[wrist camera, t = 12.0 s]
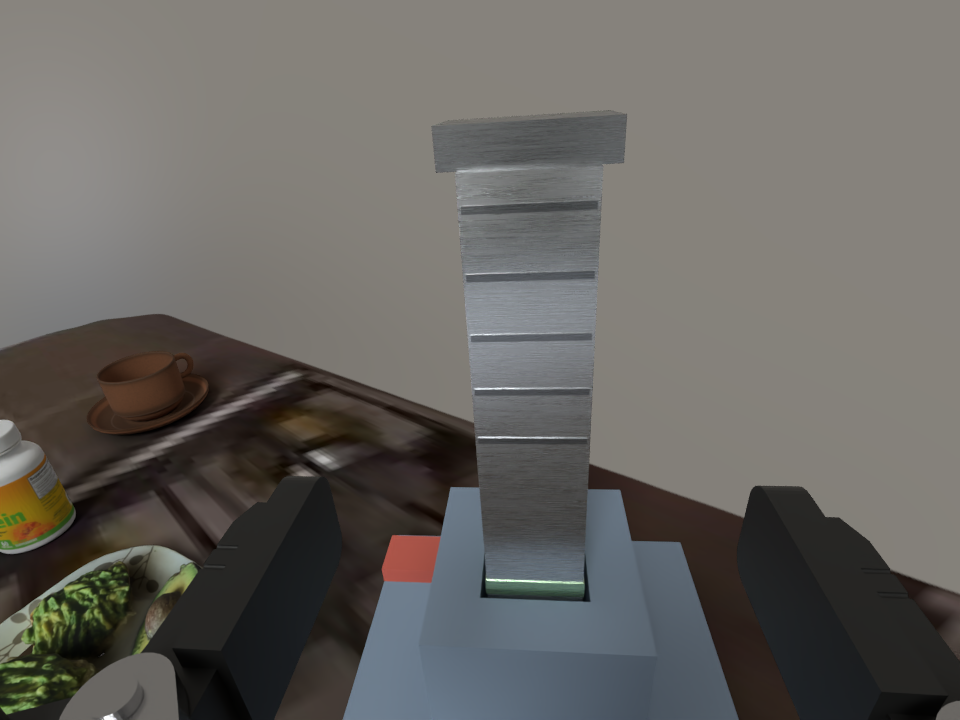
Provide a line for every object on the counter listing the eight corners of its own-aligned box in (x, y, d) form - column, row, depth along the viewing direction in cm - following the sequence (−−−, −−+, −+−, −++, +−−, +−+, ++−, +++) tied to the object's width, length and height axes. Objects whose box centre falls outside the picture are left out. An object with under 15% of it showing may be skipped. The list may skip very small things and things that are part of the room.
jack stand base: (677, 557, 36) (698, 429, 31) (816, 1000, 19) (917, 869, 14) (401, 549, 38) (379, 428, 33) (289, 940, 21) (206, 808, 16)
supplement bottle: (-20, 561, 40) (-91, 461, 35) (24, 512, 45) (-34, 419, 40) (54, 550, 40) (-6, 451, 36) (90, 503, 45) (40, 410, 41)
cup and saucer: (141, 387, 64) (123, 343, 62) (232, 386, 63) (217, 341, 60) (66, 445, 54) (39, 395, 51) (173, 445, 53) (152, 394, 50)
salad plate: (-116, 1096, 18) (-204, 1064, 16) (-221, 795, 27) (-287, 748, 25) (303, 641, 33) (286, 592, 31) (149, 540, 41) (127, 496, 39)
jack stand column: (585, 567, 26) (608, 109, 17) (594, 643, 23) (629, 114, 13) (485, 564, 27) (450, 119, 17) (478, 637, 23) (428, 126, 14)
